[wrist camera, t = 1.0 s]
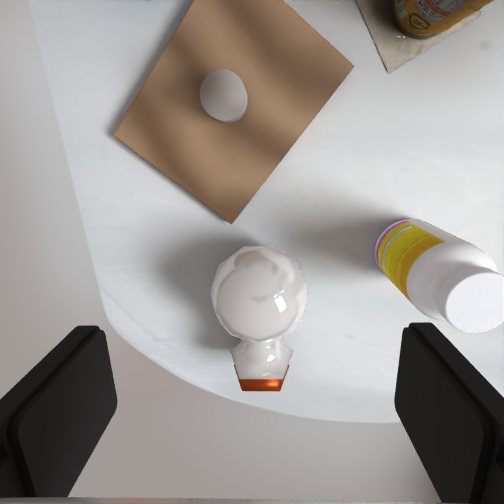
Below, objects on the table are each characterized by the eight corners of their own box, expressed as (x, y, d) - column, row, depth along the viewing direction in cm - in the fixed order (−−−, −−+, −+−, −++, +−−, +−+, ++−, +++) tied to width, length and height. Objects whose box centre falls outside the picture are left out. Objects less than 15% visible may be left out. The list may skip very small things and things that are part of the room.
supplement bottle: (366, 274, 36) (418, 340, 24) (380, 214, 34) (444, 252, 22) (428, 280, 36) (511, 350, 24) (445, 221, 34) (546, 263, 22)
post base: (227, -45, 28) (217, -91, 22) (351, 69, 30) (369, 52, 25) (118, 135, 33) (89, 133, 27) (232, 222, 35) (226, 236, 29)
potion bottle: (270, 223, 36) (272, 333, 42) (187, 245, 31) (203, 366, 38) (333, 250, 29) (324, 378, 35) (239, 284, 24) (247, 426, 31)
